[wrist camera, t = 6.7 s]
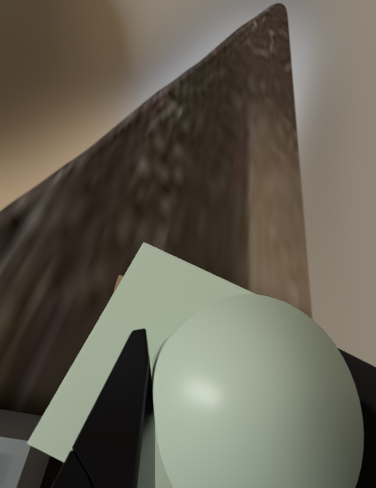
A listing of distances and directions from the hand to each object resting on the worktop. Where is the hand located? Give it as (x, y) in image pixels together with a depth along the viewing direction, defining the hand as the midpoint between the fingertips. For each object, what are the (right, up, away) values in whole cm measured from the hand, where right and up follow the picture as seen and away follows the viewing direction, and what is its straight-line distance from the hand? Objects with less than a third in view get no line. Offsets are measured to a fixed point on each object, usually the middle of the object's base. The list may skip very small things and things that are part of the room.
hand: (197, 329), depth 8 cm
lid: (-1, -3, +4) cm, 5 cm away
